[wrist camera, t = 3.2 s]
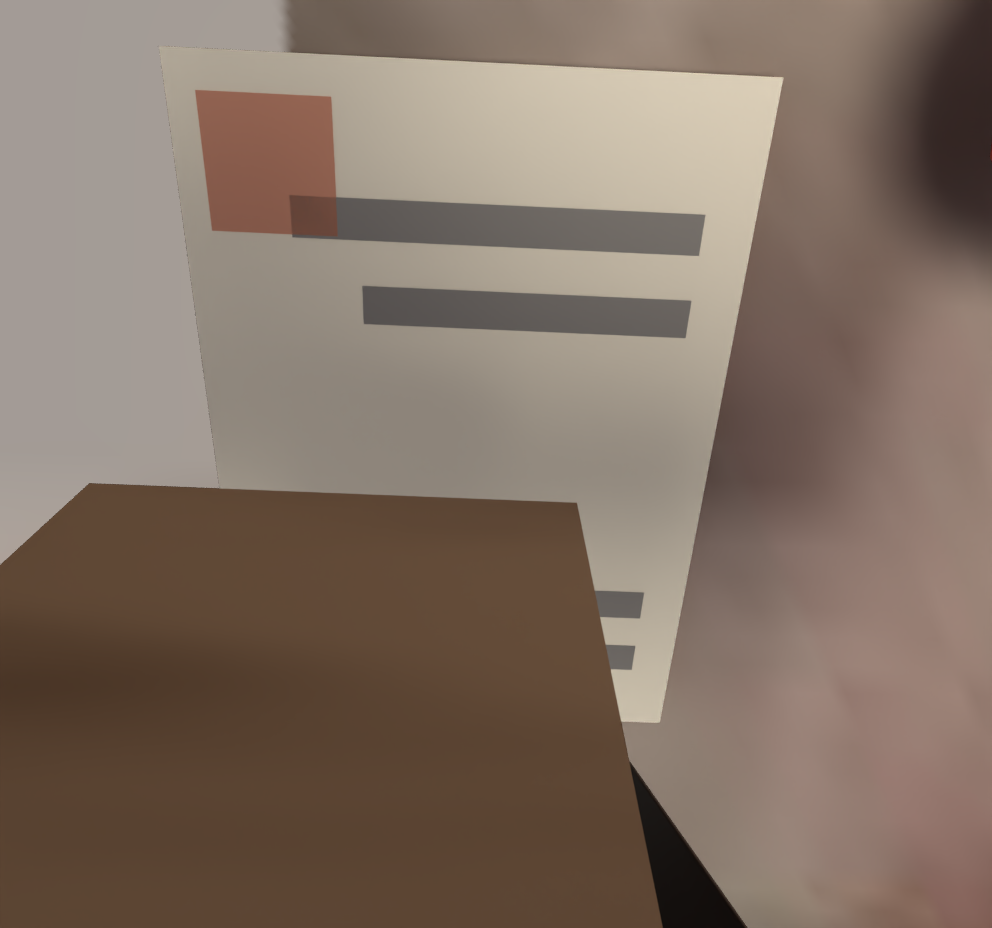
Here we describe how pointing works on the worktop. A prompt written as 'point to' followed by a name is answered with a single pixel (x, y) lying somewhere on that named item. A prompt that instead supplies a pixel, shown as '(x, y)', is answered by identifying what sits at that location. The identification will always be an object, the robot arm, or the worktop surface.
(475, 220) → the letter
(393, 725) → the walnut block
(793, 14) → the worktop surface
